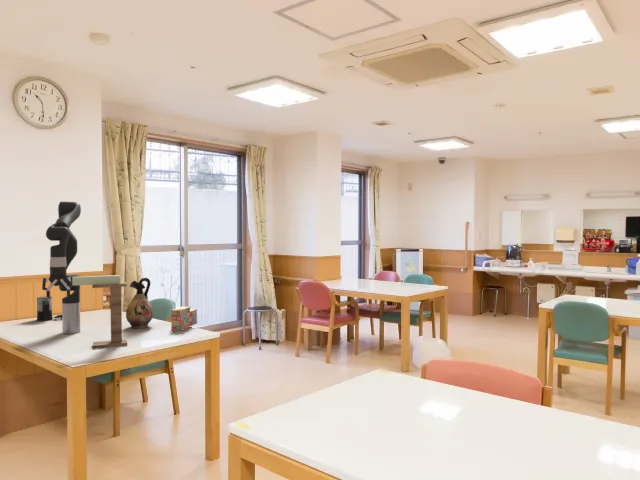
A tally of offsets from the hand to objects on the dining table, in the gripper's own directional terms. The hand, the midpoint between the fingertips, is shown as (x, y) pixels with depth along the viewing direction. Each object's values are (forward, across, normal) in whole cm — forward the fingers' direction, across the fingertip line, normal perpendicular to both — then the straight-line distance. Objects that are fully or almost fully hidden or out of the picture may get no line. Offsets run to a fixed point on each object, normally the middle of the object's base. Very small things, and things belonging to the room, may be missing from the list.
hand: (58, 297), depth 254 cm
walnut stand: (+25, -23, +11) cm, 36 cm away
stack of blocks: (+24, -70, -12) cm, 75 cm away
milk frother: (+22, -5, -83) cm, 86 cm away
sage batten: (-7, -16, +11) cm, 21 cm away
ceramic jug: (+24, -48, -27) cm, 60 cm away
